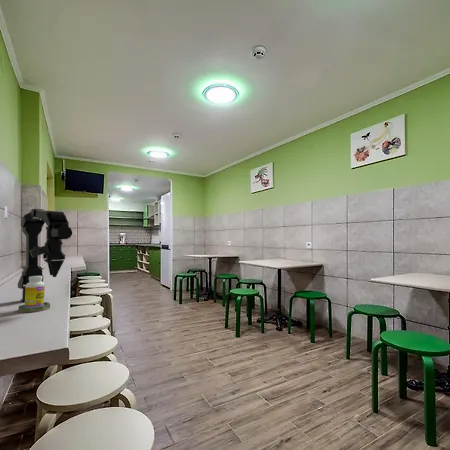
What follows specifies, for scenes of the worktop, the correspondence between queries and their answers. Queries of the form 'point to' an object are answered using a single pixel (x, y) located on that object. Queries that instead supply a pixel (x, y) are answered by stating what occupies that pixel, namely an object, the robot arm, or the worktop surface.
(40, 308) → the coaster ring
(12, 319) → the worktop surface
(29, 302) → the supplement bottle
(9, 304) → the worktop surface
